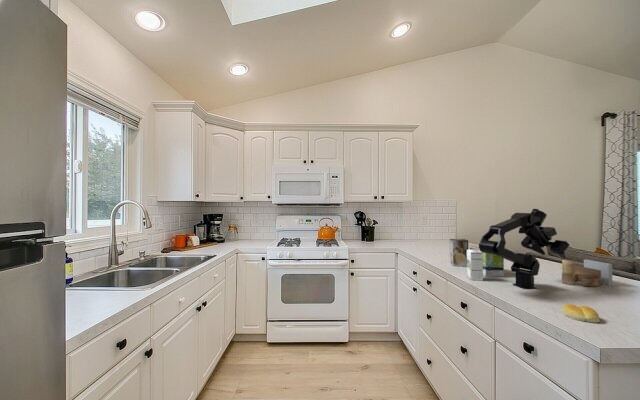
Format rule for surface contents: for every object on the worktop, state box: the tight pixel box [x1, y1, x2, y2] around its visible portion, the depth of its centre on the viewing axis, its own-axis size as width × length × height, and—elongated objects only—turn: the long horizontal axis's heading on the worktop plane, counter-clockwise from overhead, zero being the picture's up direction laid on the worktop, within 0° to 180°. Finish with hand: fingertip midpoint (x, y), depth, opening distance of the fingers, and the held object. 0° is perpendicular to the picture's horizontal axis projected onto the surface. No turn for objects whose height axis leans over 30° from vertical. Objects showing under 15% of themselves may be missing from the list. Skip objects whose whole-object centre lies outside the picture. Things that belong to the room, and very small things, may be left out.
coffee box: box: [449, 238, 470, 267], centre depth 158 cm, size 9×6×16 cm
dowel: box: [561, 259, 576, 286], centre depth 122 cm, size 4×4×11 cm
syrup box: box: [466, 249, 484, 282], centre depth 130 cm, size 6×6×14 cm
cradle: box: [575, 264, 602, 287], centre depth 123 cm, size 9×10×7 cm
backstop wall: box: [583, 259, 613, 287], centre depth 124 cm, size 2×10×10 cm, turn 7°
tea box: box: [469, 244, 505, 278], centre depth 140 cm, size 15×10×15 cm
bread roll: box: [560, 303, 601, 324], centre depth 86 cm, size 8×9×4 cm
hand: (554, 256), depth 121 cm, fingers open, 9 cm apart
